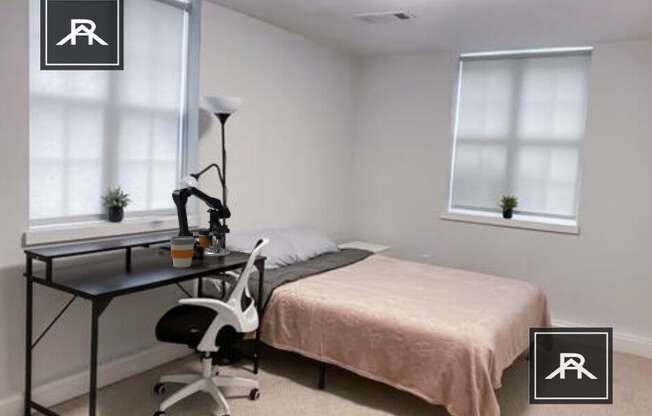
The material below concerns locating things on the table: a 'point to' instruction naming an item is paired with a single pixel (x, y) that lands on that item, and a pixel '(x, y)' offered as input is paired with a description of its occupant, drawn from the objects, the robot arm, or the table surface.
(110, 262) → the table surface
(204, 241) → the disposable coffee cup
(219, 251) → the index wheel
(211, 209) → the robot arm
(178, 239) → the reusable coffee cup
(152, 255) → the table surface
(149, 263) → the table surface
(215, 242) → the link block
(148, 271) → the table surface
